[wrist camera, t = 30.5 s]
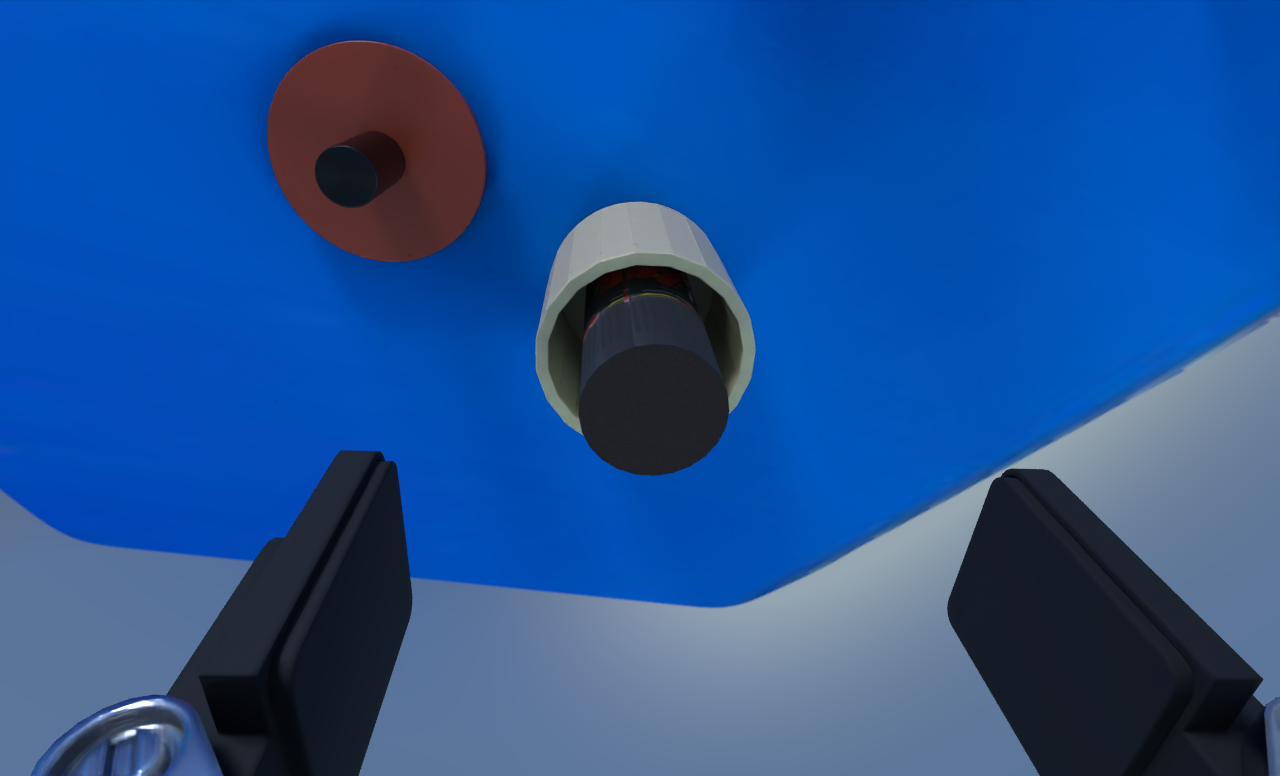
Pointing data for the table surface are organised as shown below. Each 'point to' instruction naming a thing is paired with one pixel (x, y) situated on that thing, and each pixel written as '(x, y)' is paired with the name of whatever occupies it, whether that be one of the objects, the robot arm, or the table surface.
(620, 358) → the deodorant
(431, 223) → the lid
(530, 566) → the table surface
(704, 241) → the canister
